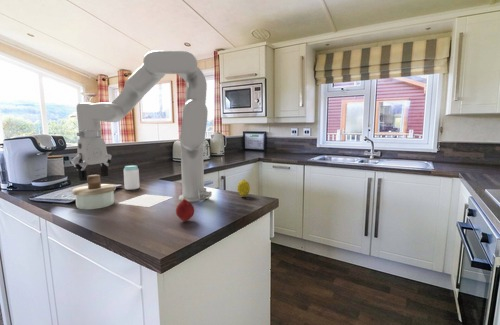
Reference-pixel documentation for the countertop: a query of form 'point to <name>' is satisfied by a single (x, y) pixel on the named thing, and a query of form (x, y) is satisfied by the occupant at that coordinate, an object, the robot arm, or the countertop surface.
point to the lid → (94, 187)
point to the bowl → (94, 200)
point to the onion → (185, 210)
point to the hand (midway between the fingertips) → (94, 178)
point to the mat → (145, 200)
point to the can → (131, 177)
